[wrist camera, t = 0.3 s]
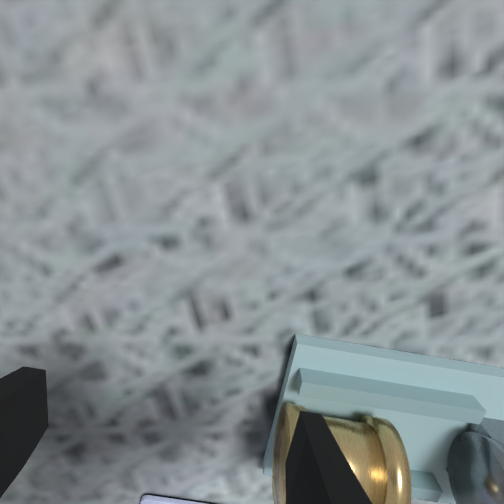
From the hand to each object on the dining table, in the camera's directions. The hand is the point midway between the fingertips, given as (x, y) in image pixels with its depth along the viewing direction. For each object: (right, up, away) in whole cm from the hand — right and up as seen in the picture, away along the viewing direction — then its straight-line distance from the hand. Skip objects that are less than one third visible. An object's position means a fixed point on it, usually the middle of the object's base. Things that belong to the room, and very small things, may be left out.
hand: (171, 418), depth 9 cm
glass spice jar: (+17, -8, +11) cm, 22 cm away
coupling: (+7, -6, +11) cm, 14 cm away
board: (+11, -7, +12) cm, 18 cm away
